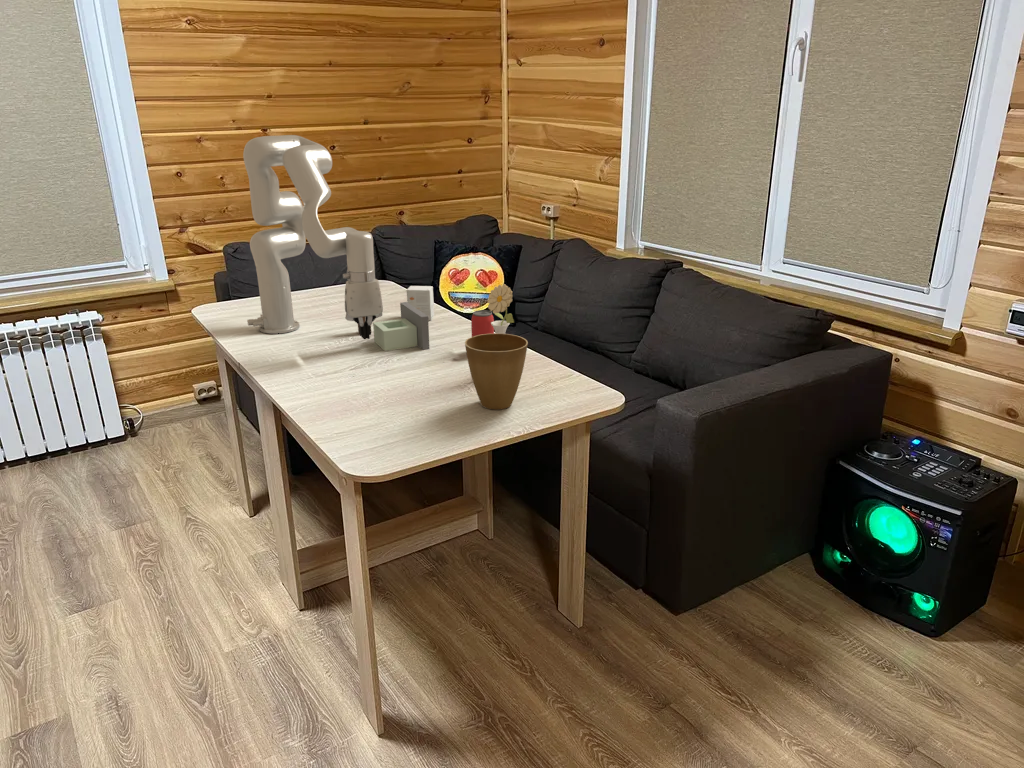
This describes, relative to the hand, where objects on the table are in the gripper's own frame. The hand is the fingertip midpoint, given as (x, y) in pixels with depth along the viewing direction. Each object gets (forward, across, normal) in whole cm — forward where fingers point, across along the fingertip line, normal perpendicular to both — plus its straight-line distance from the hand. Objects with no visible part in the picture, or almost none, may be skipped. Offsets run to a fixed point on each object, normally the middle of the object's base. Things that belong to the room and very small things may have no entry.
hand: (365, 337), depth 219 cm
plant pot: (+4, +16, -54) cm, 56 cm away
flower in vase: (+4, +27, -34) cm, 44 cm away
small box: (+5, +27, +26) cm, 38 cm away
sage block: (+3, +9, 0) cm, 10 cm away
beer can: (+4, +30, -16) cm, 35 cm away
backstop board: (+4, +5, 0) cm, 7 cm away
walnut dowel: (+4, +4, +14) cm, 16 cm away
